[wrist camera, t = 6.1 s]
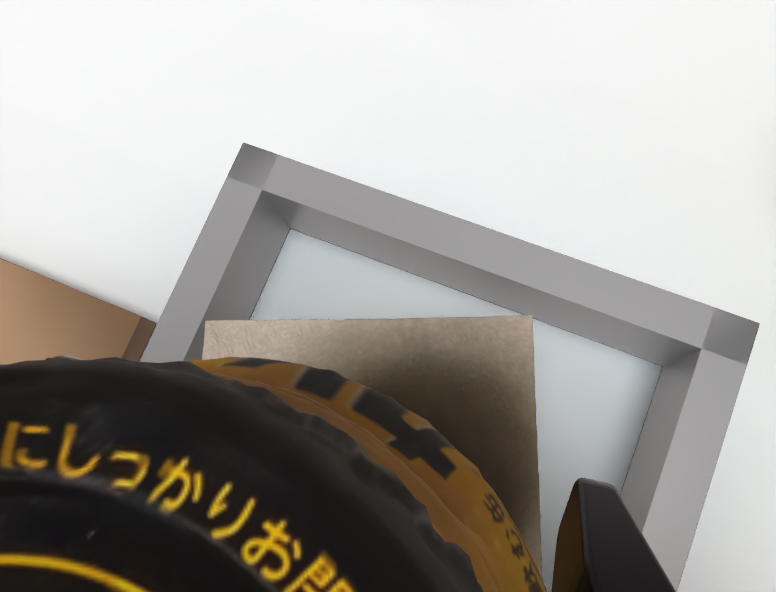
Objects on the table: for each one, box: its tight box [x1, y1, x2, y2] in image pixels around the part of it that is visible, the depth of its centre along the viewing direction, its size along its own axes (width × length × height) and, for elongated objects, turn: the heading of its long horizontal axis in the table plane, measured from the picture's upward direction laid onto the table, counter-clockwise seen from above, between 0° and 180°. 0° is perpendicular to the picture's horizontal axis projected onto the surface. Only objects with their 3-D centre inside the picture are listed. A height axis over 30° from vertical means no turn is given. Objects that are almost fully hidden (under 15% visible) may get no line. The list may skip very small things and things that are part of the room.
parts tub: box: [140, 143, 760, 592], centre depth 17 cm, size 14×13×3 cm
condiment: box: [0, 315, 546, 592], centre depth 9 cm, size 7×8×12 cm
